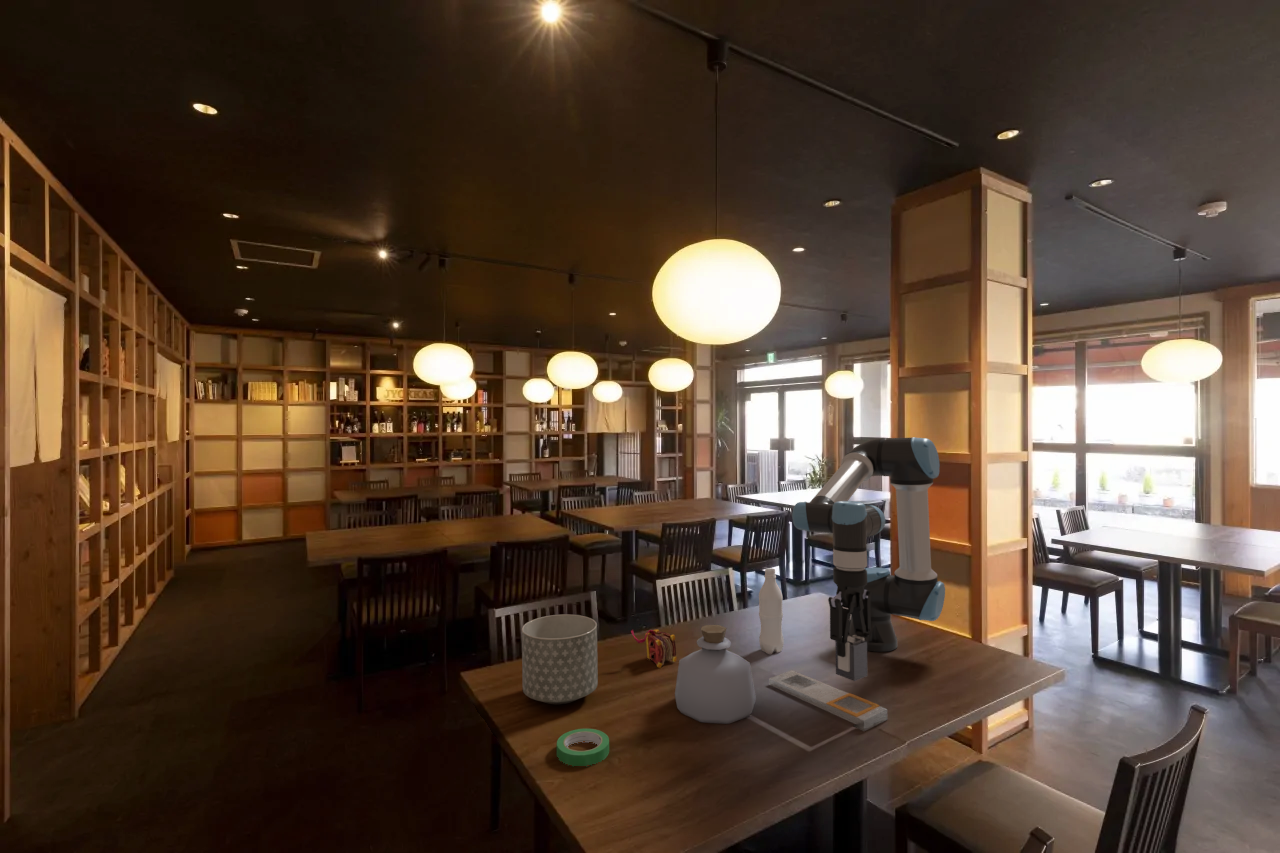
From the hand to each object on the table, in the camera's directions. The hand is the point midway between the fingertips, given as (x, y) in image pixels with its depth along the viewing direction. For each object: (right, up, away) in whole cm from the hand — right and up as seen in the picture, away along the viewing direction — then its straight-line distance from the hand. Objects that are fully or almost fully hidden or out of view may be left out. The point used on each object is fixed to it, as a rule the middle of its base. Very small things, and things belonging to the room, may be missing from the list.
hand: (851, 666), depth 137 cm
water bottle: (-10, -12, +41) cm, 44 cm away
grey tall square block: (0, -2, 0) cm, 2 cm away
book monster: (-46, -13, +34) cm, 58 cm away
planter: (-70, -13, +12) cm, 72 cm away
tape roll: (-62, -13, -14) cm, 65 cm away
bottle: (-32, -12, +6) cm, 34 cm away
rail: (-4, -12, +7) cm, 14 cm away
